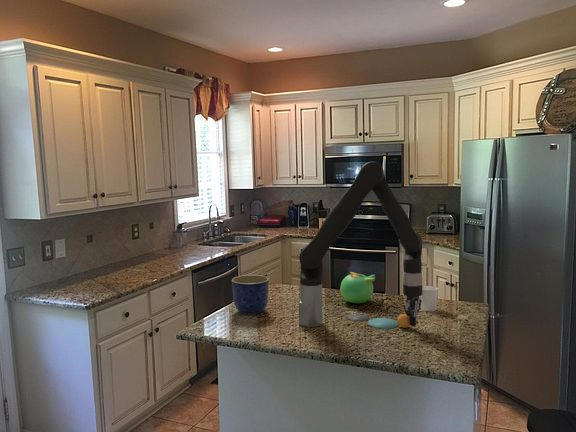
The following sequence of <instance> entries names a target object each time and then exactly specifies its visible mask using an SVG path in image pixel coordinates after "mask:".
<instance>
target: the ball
mask: <svg viewBox="0 0 576 432" xmlns="http://www.w3.org/2000/svg"><path fill="white" fill-rule="evenodd" d="M396 321H397V322H398V324H399V326H398V327H400V328H403V329H406V328H409V327H410V326H411V325H410V316H407V315H406V313H403V314H399V316H398V317H397V320H396Z"/></svg>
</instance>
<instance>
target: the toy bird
mask: <svg viewBox="0 0 576 432" xmlns="http://www.w3.org/2000/svg"><path fill="white" fill-rule="evenodd" d="M349 272H350V274H348V275H346V276H345V277H344V278H343V279H342V281H341V283H340V293H341V294H340V295H341V296H342V297H343V298H344V300H345V301H347V302H349V303H352V304H363V303H366V302H367V301H369V300H370V299H371V297H372V296H373V293H374V284H373V282H374V281H376V275H375V274H371V275H368V276H367V275H364V274H362V273H356V272H353V271H349Z"/></svg>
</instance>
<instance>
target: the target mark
mask: <svg viewBox="0 0 576 432" xmlns="http://www.w3.org/2000/svg"><path fill="white" fill-rule="evenodd" d="M367 324H368V325H369V326H370V327H372V328H376V329H381V330H390V329H391V330H392V329H395V328H398V327H400V326H399V324H398V322H397V320H395V319H391V318H388V317H386V318H385V317H376V318H371V319H368V320H367Z"/></svg>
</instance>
